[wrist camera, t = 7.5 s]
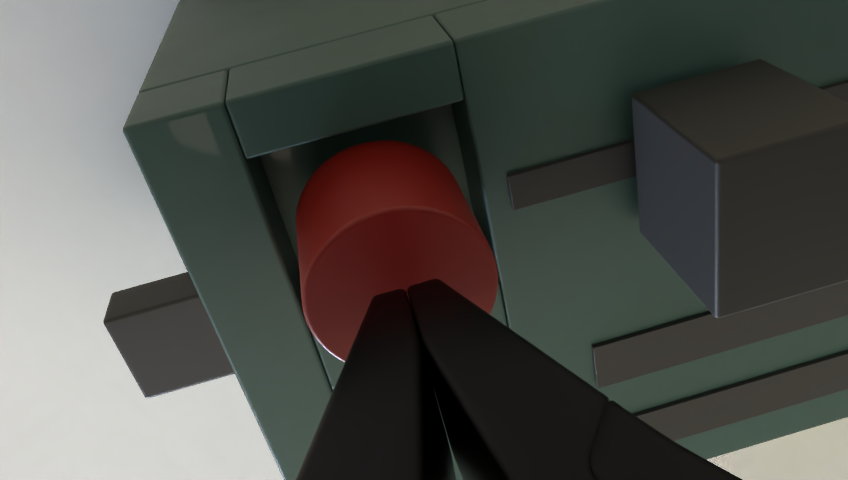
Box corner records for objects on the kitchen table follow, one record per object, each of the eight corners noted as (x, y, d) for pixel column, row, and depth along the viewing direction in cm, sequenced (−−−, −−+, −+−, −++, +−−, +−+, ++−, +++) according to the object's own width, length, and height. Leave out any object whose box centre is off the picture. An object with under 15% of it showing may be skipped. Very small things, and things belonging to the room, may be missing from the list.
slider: (761, 56, 11) (879, 115, 9) (756, 198, 12) (857, 280, 10) (628, 92, 11) (716, 160, 9) (638, 232, 12) (715, 321, 10)
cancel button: (445, 118, 11) (482, 182, 9) (474, 262, 12) (512, 344, 10) (273, 165, 11) (274, 240, 9) (322, 305, 12) (332, 395, 10)
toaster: (820, -177, 18) (1228, -165, 10) (796, 177, 23) (1056, 359, 16) (83, 14, 17) (-64, 180, 10) (229, 338, 23) (211, 614, 15)
